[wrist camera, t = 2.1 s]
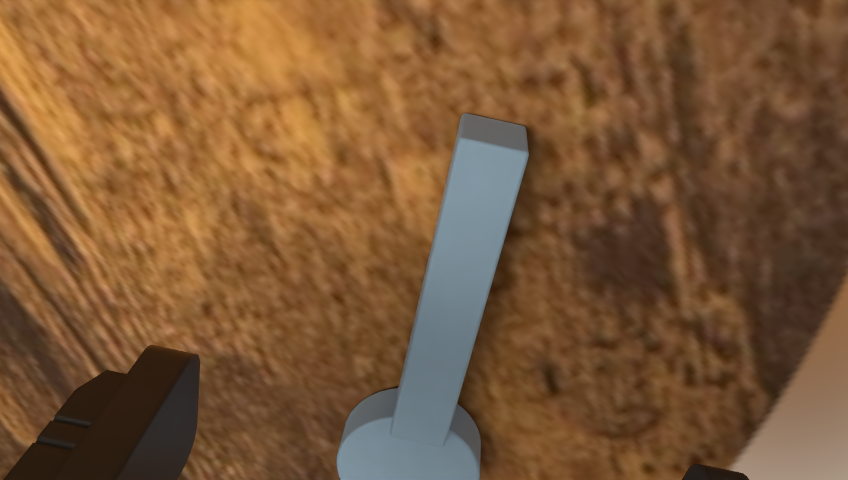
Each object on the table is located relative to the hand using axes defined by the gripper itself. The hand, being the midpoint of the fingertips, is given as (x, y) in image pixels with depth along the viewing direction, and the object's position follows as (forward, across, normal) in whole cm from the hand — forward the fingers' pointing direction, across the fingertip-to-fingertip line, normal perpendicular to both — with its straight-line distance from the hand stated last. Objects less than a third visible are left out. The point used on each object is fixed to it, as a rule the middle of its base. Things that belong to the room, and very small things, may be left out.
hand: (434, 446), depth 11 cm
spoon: (+6, 0, +1) cm, 6 cm away
